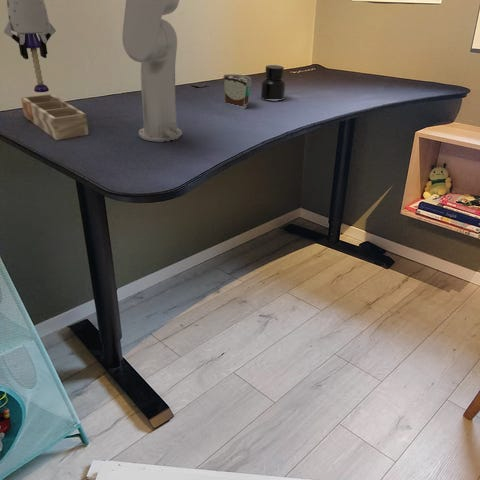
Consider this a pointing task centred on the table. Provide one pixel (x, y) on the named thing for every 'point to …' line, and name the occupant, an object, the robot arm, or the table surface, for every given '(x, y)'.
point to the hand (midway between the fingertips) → (34, 57)
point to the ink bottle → (273, 83)
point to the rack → (55, 116)
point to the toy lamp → (35, 60)
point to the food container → (237, 89)
